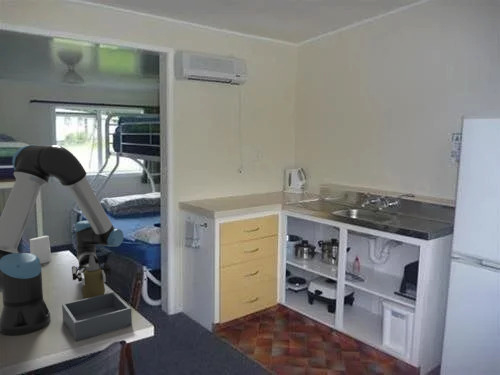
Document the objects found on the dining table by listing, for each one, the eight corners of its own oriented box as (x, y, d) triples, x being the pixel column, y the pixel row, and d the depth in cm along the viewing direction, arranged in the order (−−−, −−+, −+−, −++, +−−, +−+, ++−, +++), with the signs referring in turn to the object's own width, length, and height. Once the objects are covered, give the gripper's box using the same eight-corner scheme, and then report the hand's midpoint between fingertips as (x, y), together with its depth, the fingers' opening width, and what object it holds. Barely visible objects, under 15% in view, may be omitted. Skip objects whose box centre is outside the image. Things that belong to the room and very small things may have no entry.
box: (131, 325, 137) (131, 308, 136) (75, 341, 126) (74, 322, 126) (114, 307, 151) (113, 292, 150) (63, 320, 141) (61, 304, 140)
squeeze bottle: (82, 299, 159) (79, 254, 156) (104, 295, 162) (101, 251, 160) (83, 307, 151) (80, 259, 149) (106, 303, 155) (104, 256, 152)
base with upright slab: (44, 257, 214) (42, 234, 212) (54, 259, 209) (53, 236, 208) (27, 262, 206) (25, 238, 205) (38, 264, 202) (36, 240, 200)
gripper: (113, 268, 176) (122, 285, 156) (63, 275, 168) (65, 294, 147) (112, 251, 175) (121, 266, 155) (62, 257, 167) (64, 274, 146)
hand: (94, 280), depth 151 cm, fingers closed on squeeze bottle, 6 cm apart
